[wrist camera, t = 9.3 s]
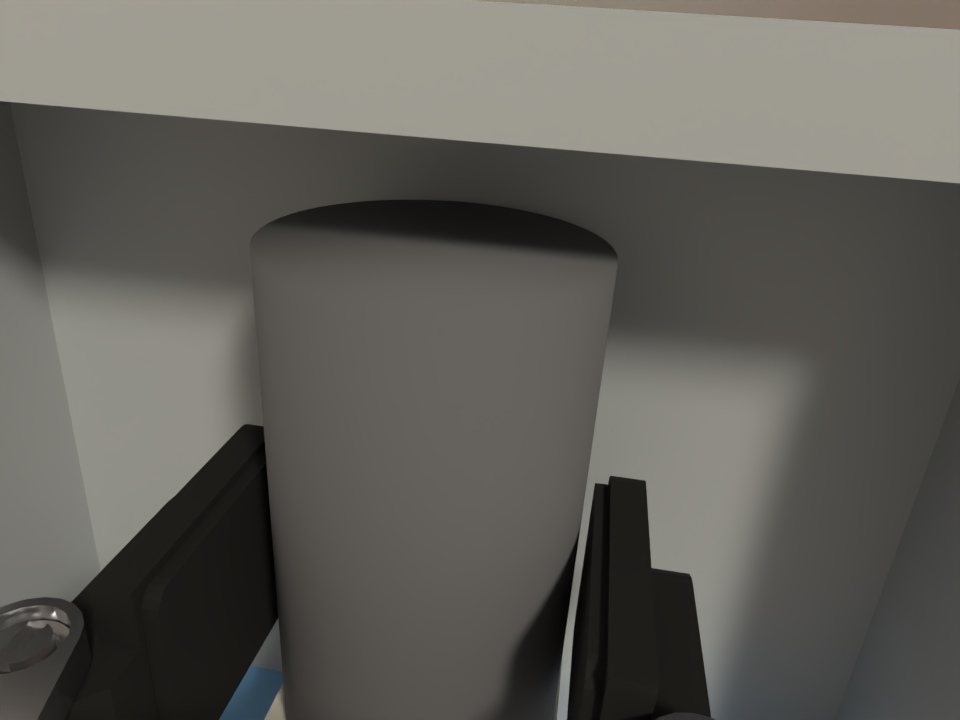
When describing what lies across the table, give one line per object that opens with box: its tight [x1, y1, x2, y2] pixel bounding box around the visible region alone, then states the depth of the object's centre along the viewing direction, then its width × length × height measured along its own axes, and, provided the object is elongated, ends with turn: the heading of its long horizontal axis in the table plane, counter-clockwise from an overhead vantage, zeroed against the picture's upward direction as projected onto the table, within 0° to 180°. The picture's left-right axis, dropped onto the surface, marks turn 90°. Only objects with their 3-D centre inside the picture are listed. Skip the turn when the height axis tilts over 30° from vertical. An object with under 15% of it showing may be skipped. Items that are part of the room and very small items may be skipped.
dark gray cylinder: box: [250, 200, 618, 720], centre depth 11 cm, size 10×4×4 cm, turn 176°
